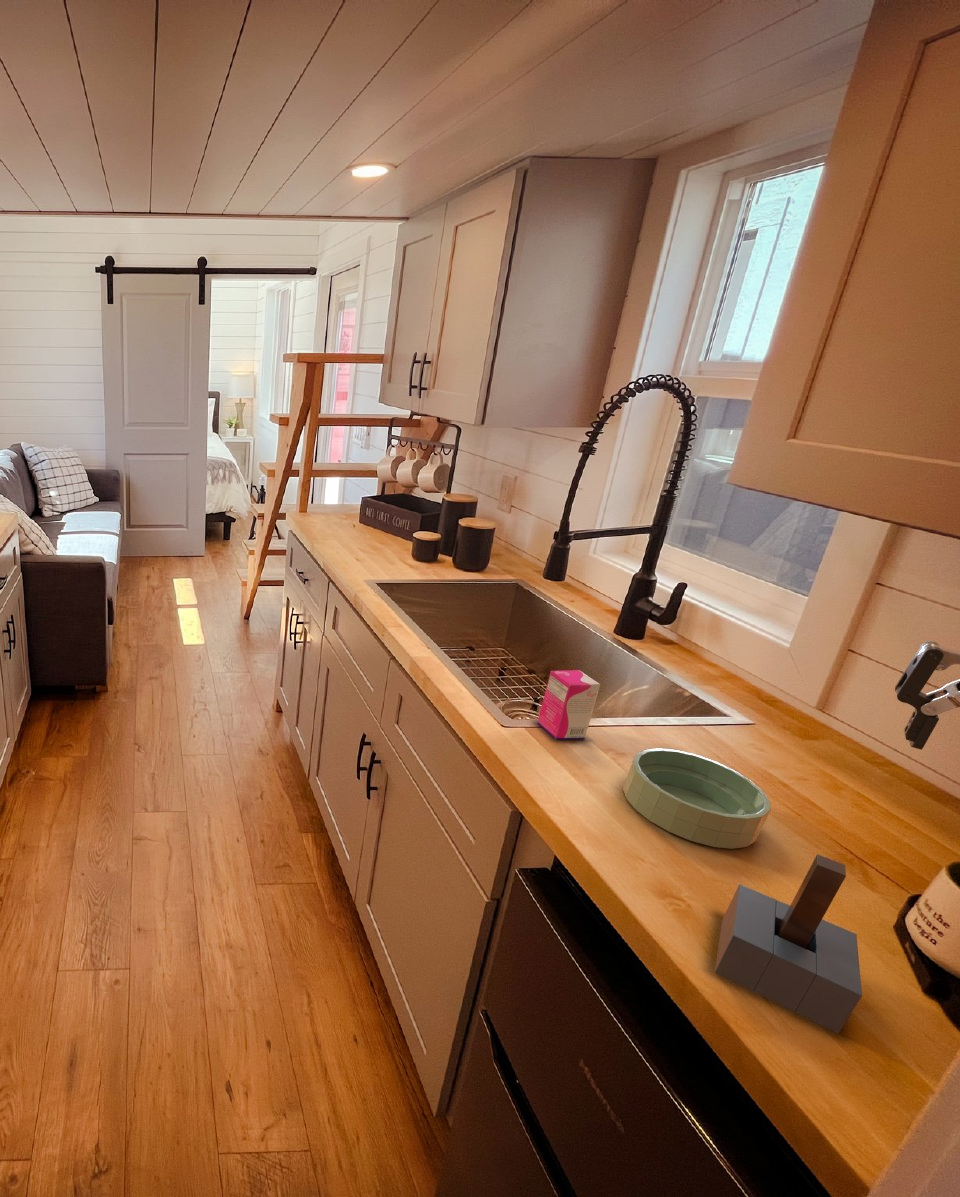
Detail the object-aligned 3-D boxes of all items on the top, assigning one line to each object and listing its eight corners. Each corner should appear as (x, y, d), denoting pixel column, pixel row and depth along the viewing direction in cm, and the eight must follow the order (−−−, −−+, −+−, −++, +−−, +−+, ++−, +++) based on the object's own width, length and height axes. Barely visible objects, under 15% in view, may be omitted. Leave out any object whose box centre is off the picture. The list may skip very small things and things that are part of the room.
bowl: (757, 812, 100) (772, 780, 98) (751, 870, 89) (768, 835, 86) (632, 765, 110) (643, 736, 108) (612, 812, 99) (624, 780, 97)
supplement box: (564, 722, 122) (580, 669, 118) (585, 740, 117) (603, 685, 113) (535, 722, 122) (550, 669, 118) (554, 741, 116) (571, 685, 112)
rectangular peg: (786, 971, 74) (845, 864, 68) (786, 984, 73) (846, 876, 67) (761, 959, 76) (817, 853, 70) (760, 971, 74) (817, 864, 68)
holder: (834, 971, 74) (856, 933, 72) (837, 1035, 67) (862, 995, 65) (721, 919, 81) (739, 883, 78) (714, 973, 74) (733, 935, 72)
